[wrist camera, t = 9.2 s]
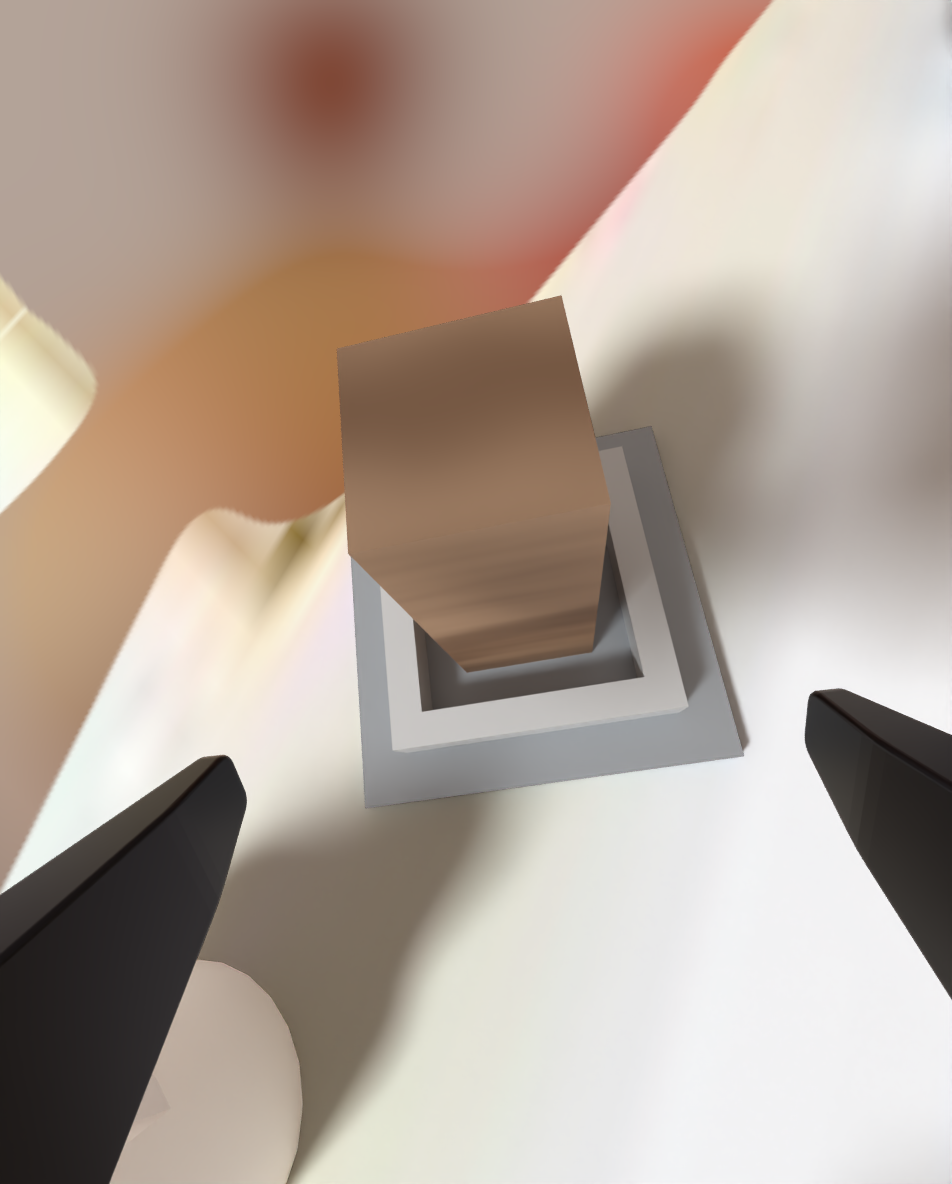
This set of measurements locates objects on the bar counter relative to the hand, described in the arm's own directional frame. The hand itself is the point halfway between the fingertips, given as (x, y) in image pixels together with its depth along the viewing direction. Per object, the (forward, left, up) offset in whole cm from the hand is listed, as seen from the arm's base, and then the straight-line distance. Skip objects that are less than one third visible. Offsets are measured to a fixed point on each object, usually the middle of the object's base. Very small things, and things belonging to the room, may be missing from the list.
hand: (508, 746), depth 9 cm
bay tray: (+6, -1, -14) cm, 15 cm away
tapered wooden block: (+6, -2, -13) cm, 14 cm away
